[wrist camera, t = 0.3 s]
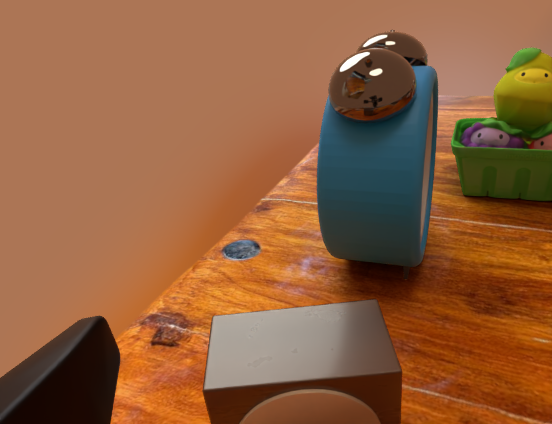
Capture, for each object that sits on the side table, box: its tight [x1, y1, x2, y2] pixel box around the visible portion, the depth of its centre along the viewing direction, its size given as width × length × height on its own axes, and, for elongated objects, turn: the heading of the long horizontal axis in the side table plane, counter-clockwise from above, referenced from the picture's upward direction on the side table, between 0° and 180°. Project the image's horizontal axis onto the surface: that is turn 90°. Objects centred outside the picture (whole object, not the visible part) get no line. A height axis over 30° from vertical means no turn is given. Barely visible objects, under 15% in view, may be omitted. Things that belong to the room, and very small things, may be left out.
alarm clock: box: [317, 30, 438, 280], centre depth 32 cm, size 13×6×15 cm, turn 159°
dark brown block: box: [203, 299, 402, 424], centre depth 20 cm, size 4×7×7 cm, turn 92°
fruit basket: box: [451, 48, 552, 201], centre depth 39 cm, size 11×9×11 cm
